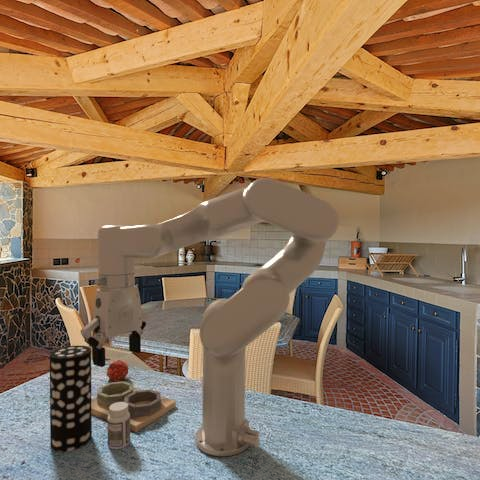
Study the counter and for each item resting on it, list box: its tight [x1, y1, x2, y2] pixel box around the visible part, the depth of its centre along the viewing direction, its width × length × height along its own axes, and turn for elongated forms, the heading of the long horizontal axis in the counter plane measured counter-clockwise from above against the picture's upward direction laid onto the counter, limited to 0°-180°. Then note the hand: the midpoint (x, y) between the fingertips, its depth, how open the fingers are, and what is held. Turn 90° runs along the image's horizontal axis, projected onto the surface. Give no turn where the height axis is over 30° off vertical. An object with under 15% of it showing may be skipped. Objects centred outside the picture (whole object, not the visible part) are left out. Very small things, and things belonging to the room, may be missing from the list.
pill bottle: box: [106, 402, 131, 450], centre depth 79 cm, size 5×5×8 cm
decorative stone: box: [106, 359, 129, 382], centre depth 113 cm, size 6×7×8 cm
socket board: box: [91, 380, 177, 433], centre depth 95 cm, size 20×14×4 cm
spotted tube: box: [49, 345, 93, 453], centre depth 80 cm, size 8×8×20 cm
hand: (117, 358), depth 80 cm, fingers open, 9 cm apart
